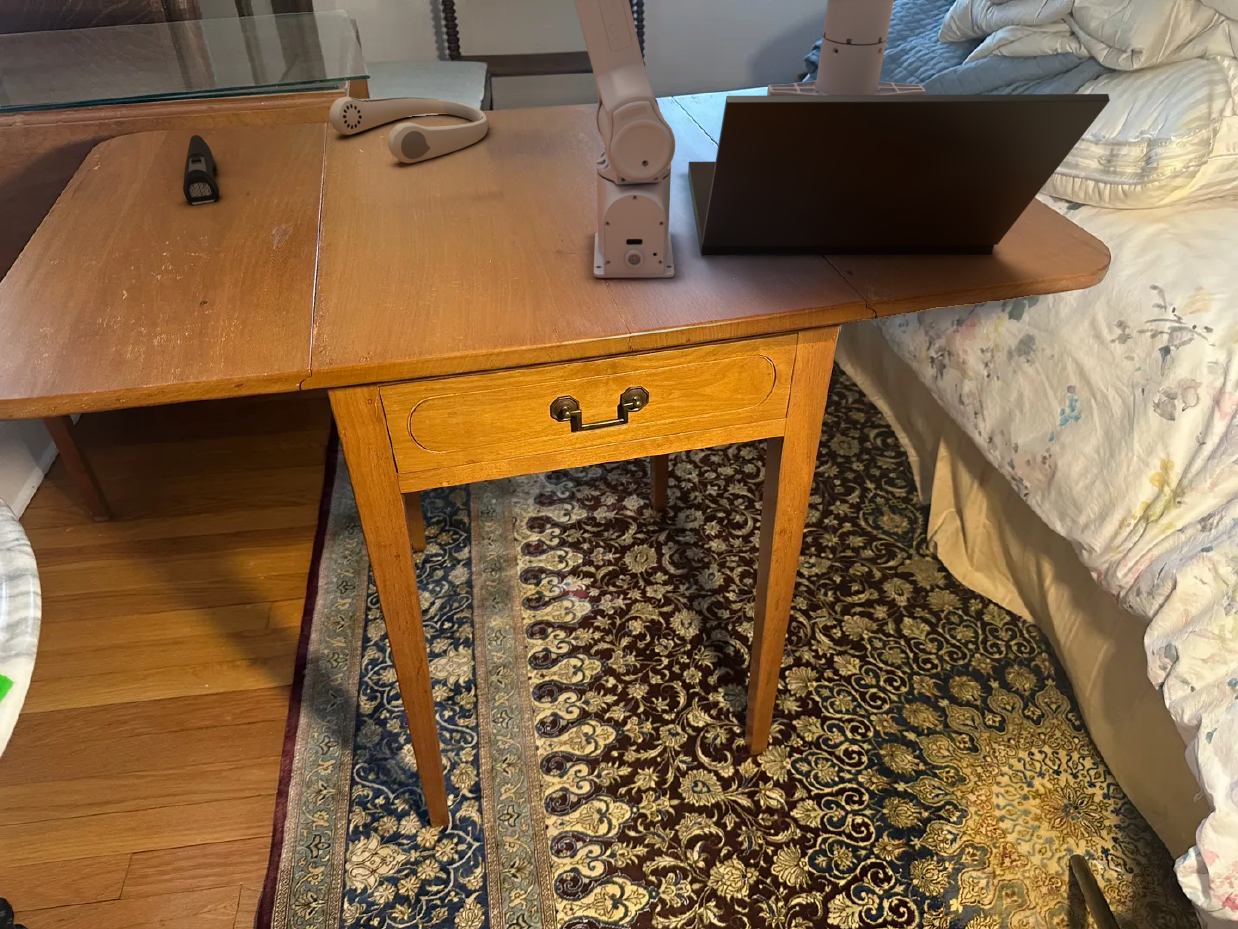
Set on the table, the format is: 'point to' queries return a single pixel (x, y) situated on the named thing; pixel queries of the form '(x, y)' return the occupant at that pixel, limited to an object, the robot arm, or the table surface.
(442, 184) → the table surface
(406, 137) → the beige neck fan
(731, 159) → the laptop screen
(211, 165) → the electric trimmer
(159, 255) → the table surface
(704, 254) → the laptop
